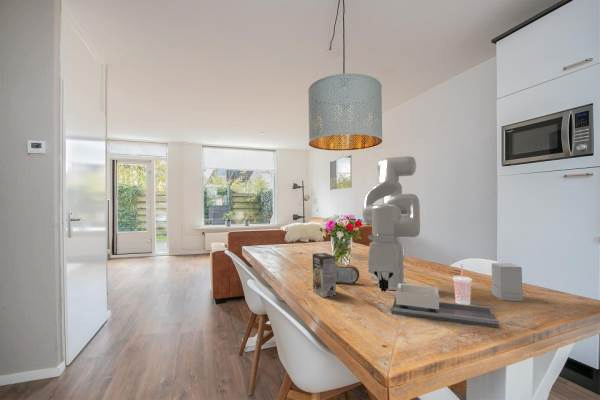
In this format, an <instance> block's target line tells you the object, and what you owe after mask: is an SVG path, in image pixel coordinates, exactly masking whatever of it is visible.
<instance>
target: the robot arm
mask: <svg viewBox="0 0 600 400" xmlns="http://www.w3.org/2000/svg"><path fill="white" fill-rule="evenodd" d="M416 170H417V162H416V159H415V157H413V156H410V155H409V156H408V155H407V156H405V155H404V156H392V157H387V158H384V159H381V160H380V161H378V163H377V172H378V173H377V174H378V176H377V184H376V185H375V186H374V187H372V188H371V189H370V190H369V191H368V193H367V194H366V195H365V197H364V200H363V207H362V218H363V221H364V223H366V224H368V225H370V224H371V235H367V239H368V240H371V242H370V243H369V246H368V260H367V262H368V263H367V267H368V270H367V272H368V273H369V274H371V276H370V277H371V280H372V281H375V282H377V281H378V282H377V286H378V287H379V289H380V292H387V290H388V291H396V290H397V287H398V284H399V283H400V284H407V282H405V279H404V278H405V276H404V275H405V274H404V248H403V245H402V243H401V242H400V240H399V239H398V238H416V237H418V236H419V235H420V231H421V215H420V214H421V213H420V212H421V210H420V209H421V207H420V200H419V197H418V196H417V195H416V194H414V193H403V186H402V184H401V183H400V182H399V181H400V180H399V178H400V177H409V176H410V177H412V176H414V175H415V173H416ZM381 199H382V204H374V203H376V202H377V201H379V200H381Z"/></svg>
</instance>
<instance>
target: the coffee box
mask: <svg viewBox="0 0 600 400" xmlns="http://www.w3.org/2000/svg"><path fill="white" fill-rule="evenodd" d="M336 264H337V263H336V255H332V254H330V253H326V252H323V253H321V252H319V253H318V252H317V253H312V284H313V285H312V287H313V288H312V289H313V290H312V291H314V293H315V292H316V293H315V294H316V295H318V294H319V296H320V297H321V296H322V297H321V298H323V297H324V298H328V297H327V296H330V297H334V296H333V295H337V290H336V289H337V287H336V286H337V283H336Z"/></svg>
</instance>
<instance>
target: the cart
mask: <svg viewBox="0 0 600 400" xmlns="http://www.w3.org/2000/svg"><path fill="white" fill-rule="evenodd" d="M395 297H396V304H399V305H400V308H406V305H407V306H416V307H424V308H429V311H430V312H436V310H435V309H439V302H440V295H439V288H438V286H432V285H430V286H429V285H420V284H408V283H406V284H400V283H399V284H398V287H397V290H395Z"/></svg>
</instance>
